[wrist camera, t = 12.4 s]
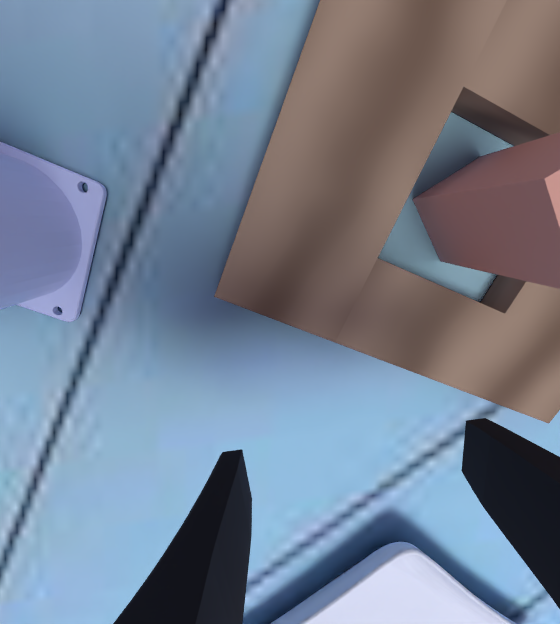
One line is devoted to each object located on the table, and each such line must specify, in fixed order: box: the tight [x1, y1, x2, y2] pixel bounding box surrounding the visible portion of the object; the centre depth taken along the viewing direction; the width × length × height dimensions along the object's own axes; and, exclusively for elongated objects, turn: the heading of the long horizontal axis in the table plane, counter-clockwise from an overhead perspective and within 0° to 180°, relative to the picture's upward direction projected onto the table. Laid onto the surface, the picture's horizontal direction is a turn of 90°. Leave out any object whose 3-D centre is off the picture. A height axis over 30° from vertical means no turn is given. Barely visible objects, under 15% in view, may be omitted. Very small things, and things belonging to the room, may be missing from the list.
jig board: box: [214, 0, 560, 423], centre depth 15 cm, size 22×18×2 cm
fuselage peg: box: [413, 132, 560, 289], centre depth 12 cm, size 4×4×8 cm
